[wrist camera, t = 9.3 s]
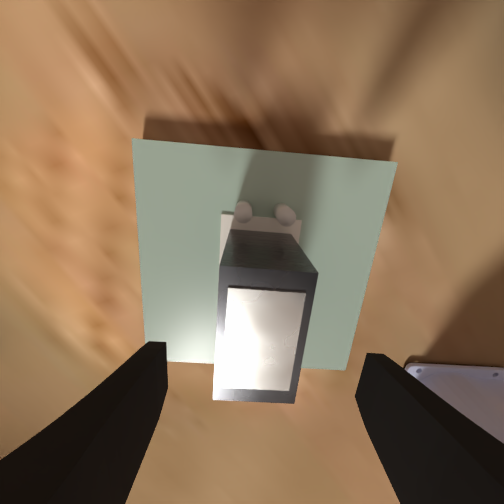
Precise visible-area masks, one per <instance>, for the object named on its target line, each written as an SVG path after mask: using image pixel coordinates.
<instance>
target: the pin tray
mask: <svg viewBox="0 0 504 504" xmlns="http://www.w3.org/2000/svg"><path fill="white" fill-rule="evenodd" d="M132 151H133V166H134V181H135V196H136V211H137V226H138V241H139V256H140V271H141V286H142V302H143V317H144V332H145V344H146V343H147V342H148V341H158V342H166V344H167V361H173V362H193V363H213V364H215V344H216V323H217V302H218V282H219V265H220V262H221V258H222V255H223V251H224V248H225V245H226V241H227V238H228V234H229V231H230V229H237V230H250V231H262V232H275V233H287V234H292V236H293V237H294V239H295V240H296V242H297V243H298V244H299V246H300V247H301V249H302V250H303V251H304V253H305V254H306V256H307V257H308V259H309V260H310V261H311V263H312V264H313V266H314V267H315V268H316V270H317V271H318V273H319V274H318V279H317V285H316V290H315V295H314V301H313V306H312V311H311V317H310V322H309V327H308V333H307V338H306V344H305V349H304V354H303V360H302V365H301V368H311V369H331V370H346V366H347V362H348V358H349V354H350V350H351V346H352V342H353V338H354V334H355V330H356V326H357V322H358V318H359V314H360V310H361V306H362V302H363V298H364V294H365V290H366V287H367V283H368V279H369V275H370V271H371V267H372V263H373V259H374V255H375V251H376V247H377V243H378V239H379V235H380V231H381V227H382V223H383V219H384V215H385V211H386V207H387V203H388V199H389V195H390V191H391V187H392V183H393V179H394V175H395V172H396V168H397V164H398V162H390V161H378V160H367V159H356V158H345V157H334V156H323V155H312V154H301V153H290V152H279V151H267V150H256V149H245V148H234V147H223V146H212V145H201V144H190V143H179V142H167V141H156V140H145V139H134V138H132Z"/></svg>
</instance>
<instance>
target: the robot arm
mask: <svg viewBox="0 0 504 504" xmlns="http://www.w3.org/2000/svg"><path fill="white" fill-rule="evenodd" d="M167 389H168V374H167V344H166V342H158V341H148V342H147V343H146V344H145V345H144V346H142V347H141V348H140V349H139V350H138V351H137V352H136V353H135V354H134V355H132V356H131V357H130V358H129V359H128V360H127V361H126V362H125V363H124V364H122V365H121V366H120V367H119V368H118V369H117V370H116V371H115V372H113V373H112V374H111V375H110V376H109V377H108V378H106V379H105V380H104V381H103V382H102V383H101V384H99V385H98V386H97V387H96V388H95V389H94V390H92V391H91V392H90V393H89V394H88V395H86V396H85V397H84V398H83V399H81V400H80V401H79V402H78V403H76V404H75V405H74V406H73V407H71V408H70V409H69V410H68V411H66V412H65V413H64V414H63V415H61V416H60V417H59V418H58V419H56V420H55V421H54V422H52V423H51V424H50V425H48V426H47V427H46V428H45V429H43V430H42V431H41V432H39V433H38V434H36V435H35V436H34V437H32V438H31V439H30V440H28V441H27V442H25V443H24V444H23V445H21V446H20V447H18V448H17V449H16V450H14V451H13V452H11V453H10V454H8V455H7V456H6V457H4V458H3V459H1V460H0V504H125V503H126V500H127V498H128V495H129V493H130V490H131V488H132V485H133V483H134V480H135V478H136V475H137V473H138V470H139V468H140V465H141V463H142V460H143V458H144V455H145V453H146V450H147V448H148V445H149V443H150V440H151V438H152V435H153V433H154V430H155V428H156V425H157V423H158V420H159V417H160V413H161V410H162V407H163V403H164V400H165V396H166V393H167ZM355 398H356V401H357V404H358V407H359V411H360V414H361V417H362V419H363V422H364V425H365V428H366V430H367V432H368V435H369V437H370V439H371V441H372V443H373V446H374V448H375V450H376V452H377V454H378V457H379V459H380V461H381V463H382V465H383V467H384V469H385V472H386V474H387V476H388V478H389V480H390V482H391V485H392V487H393V489H394V491H395V493H396V495H397V497H398V500H399V502H400V504H504V368H499V367H481V366H462V365H443V364H424V363H409V364H407V365H406V367H405V369H403V368H402V367H401V366H399V365H398V364H397V363H395V362H394V361H393V360H391V359H390V358H389V357H387V356H386V355H384V354H376V353H367V355H366V358H365V362H364V365H363V369H362V373H361V376H360V380H359V383H358V387H357V391H356V394H355Z"/></svg>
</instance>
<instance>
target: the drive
mask: <svg viewBox="0 0 504 504" xmlns="http://www.w3.org/2000/svg"><path fill="white" fill-rule="evenodd" d="M318 274H319V273H318V271H317V270H316V268H315V267H314V266H313V264H312V263H311V261H310V260H309V259H308V257H307V256H306V254H305V253H304V251H303V250H302V249H301V247H300V246H299V244H298V243H297V242H296V240H295V239H294V237H293V236H292V234H287V233H275V232H262V231H250V230H237V229H230V231H229V234H228V238H227V241H226V245H225V248H224V251H223V255H222V258H221V262H220V265H219V282H218V302H217V323H216V344H215V364H214V385H213V400H229V401H249V402H270V403H291V404H294V402H295V397H296V392H297V386H298V381H299V376H300V370H301V365H302V360H303V354H304V349H305V344H306V338H307V333H308V327H309V322H310V317H311V311H312V306H313V301H314V295H315V290H316V285H317V279H318Z"/></svg>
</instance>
